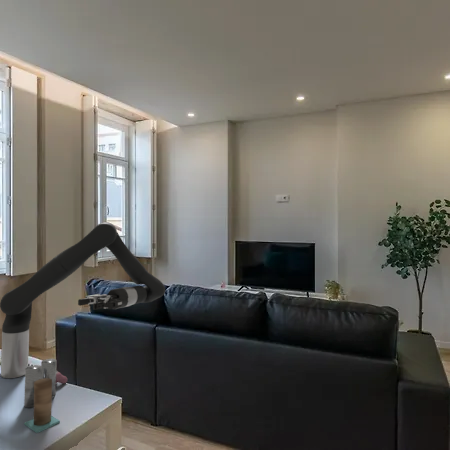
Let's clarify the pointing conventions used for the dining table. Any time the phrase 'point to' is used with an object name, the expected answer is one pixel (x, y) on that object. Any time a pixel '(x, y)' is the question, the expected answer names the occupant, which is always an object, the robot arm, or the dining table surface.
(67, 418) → the dining table surface
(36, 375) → the silver tall tapered cylinder
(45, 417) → the cylinder
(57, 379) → the video game controller
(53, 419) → the teal mat
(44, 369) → the shiny grey metal cylinder
